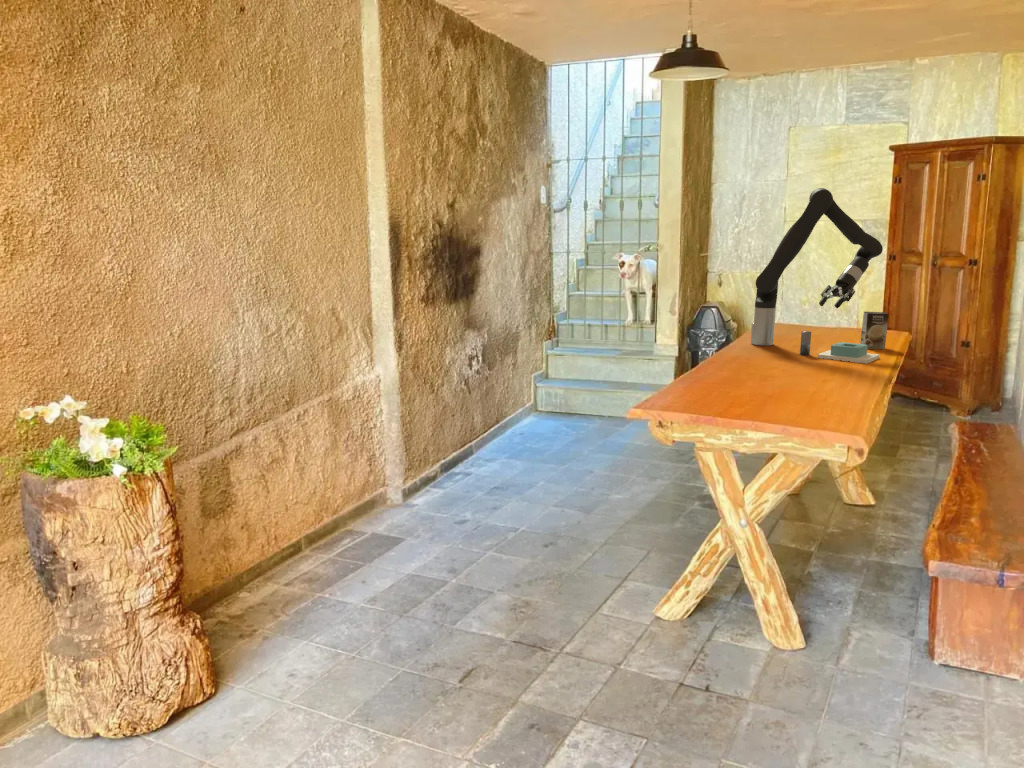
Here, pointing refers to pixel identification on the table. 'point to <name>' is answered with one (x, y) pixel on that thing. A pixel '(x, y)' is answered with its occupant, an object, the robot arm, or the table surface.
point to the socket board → (859, 360)
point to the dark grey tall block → (805, 343)
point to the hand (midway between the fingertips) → (828, 305)
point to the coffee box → (874, 329)
